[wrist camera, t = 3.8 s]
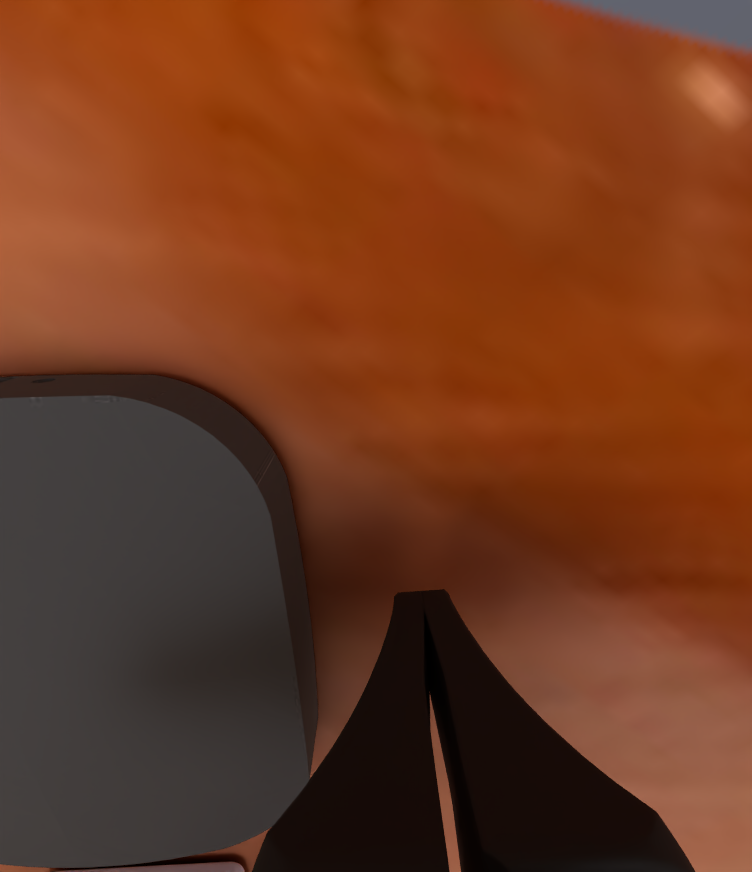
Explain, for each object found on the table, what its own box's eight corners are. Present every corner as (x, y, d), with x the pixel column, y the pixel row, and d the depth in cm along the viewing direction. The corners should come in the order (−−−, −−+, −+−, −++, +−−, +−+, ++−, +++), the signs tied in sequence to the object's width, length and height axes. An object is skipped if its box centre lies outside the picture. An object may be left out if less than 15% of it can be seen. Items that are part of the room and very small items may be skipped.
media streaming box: (331, 769, 16) (322, 872, 14) (-71, 782, 17) (-163, 886, 14) (281, 359, 11) (250, 387, 9) (-287, 389, 12) (-498, 426, 9)
